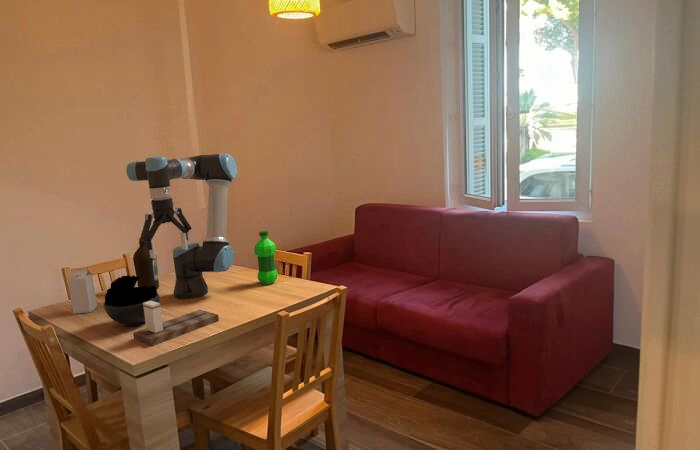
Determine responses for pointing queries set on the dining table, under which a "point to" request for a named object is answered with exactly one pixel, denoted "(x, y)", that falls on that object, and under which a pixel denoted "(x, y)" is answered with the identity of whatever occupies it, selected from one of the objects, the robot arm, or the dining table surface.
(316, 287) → the dining table surface
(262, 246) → the plastic bottle
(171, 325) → the dark brown wooden board
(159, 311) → the fader tab
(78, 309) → the milk carton
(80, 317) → the dining table surface
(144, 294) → the coal bowl
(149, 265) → the olive oil
